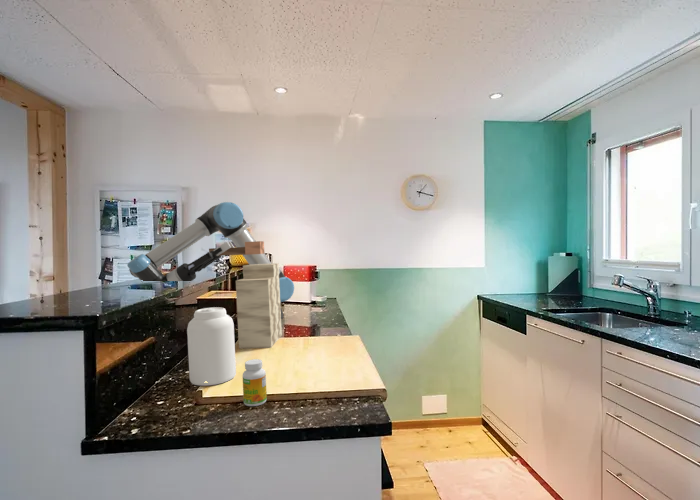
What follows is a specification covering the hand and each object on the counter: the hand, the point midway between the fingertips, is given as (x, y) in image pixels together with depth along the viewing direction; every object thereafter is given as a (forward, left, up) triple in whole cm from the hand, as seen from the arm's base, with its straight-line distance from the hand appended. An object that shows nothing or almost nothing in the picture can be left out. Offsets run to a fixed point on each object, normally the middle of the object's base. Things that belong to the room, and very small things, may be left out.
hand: (230, 244), depth 151 cm
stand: (+4, +12, -39) cm, 41 cm away
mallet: (0, +2, -4) cm, 5 cm away
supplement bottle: (+61, +26, -39) cm, 77 cm away
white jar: (+44, +9, -39) cm, 59 cm away
